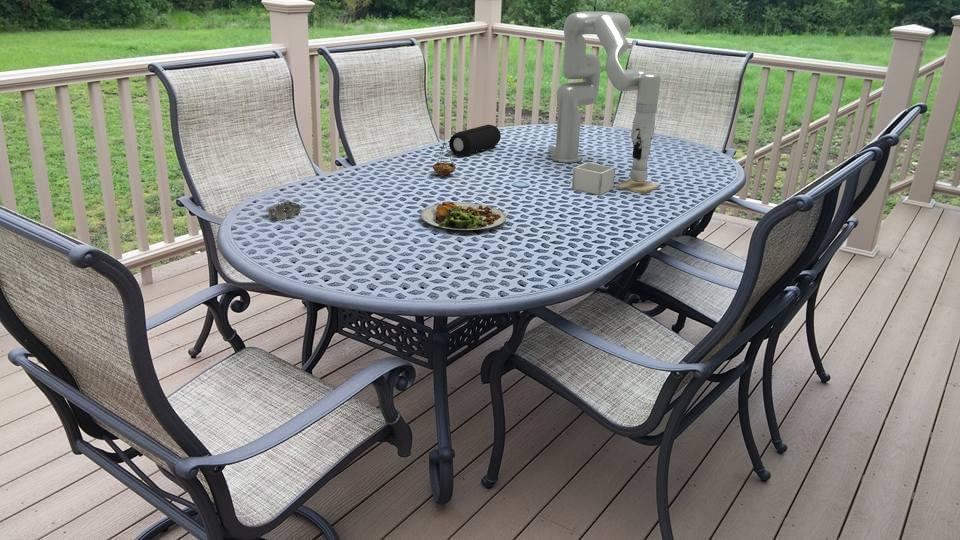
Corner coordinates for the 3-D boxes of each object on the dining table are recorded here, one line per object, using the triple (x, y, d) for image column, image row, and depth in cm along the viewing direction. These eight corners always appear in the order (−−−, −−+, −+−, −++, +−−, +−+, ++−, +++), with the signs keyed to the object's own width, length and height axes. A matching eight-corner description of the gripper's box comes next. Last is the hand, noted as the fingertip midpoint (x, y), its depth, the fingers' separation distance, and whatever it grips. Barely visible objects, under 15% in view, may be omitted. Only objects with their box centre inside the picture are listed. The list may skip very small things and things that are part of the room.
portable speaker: (484, 144, 353) (484, 121, 349) (502, 148, 347) (503, 125, 343) (447, 154, 334) (447, 131, 330) (465, 159, 328) (466, 135, 325)
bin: (571, 188, 294) (573, 167, 290) (585, 182, 302) (587, 162, 298) (599, 195, 287) (601, 173, 284) (613, 188, 295) (615, 167, 292)
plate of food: (464, 242, 239) (465, 223, 237) (402, 219, 256) (402, 201, 254) (523, 224, 259) (525, 206, 256) (462, 203, 276) (463, 187, 274)
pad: (615, 187, 296) (616, 185, 296) (630, 180, 305) (630, 178, 305) (645, 194, 290) (645, 191, 290) (659, 187, 299) (659, 184, 299)
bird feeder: (428, 176, 303) (429, 97, 291) (438, 170, 310) (439, 93, 299) (449, 179, 300) (451, 99, 288) (459, 173, 307) (460, 95, 296)
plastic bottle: (645, 179, 300) (652, 127, 292) (647, 184, 294) (654, 131, 286) (628, 178, 300) (634, 126, 293) (629, 183, 294) (636, 130, 286)
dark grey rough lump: (280, 223, 250) (279, 210, 249) (264, 218, 254) (263, 205, 253) (305, 214, 259) (304, 202, 257) (288, 209, 262) (288, 197, 261)
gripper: (647, 103, 295) (641, 150, 302) (626, 110, 282) (620, 159, 289) (666, 106, 291) (660, 154, 298) (645, 113, 278) (639, 163, 285)
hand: (640, 156), depth 293 cm, fingers closed on plastic bottle, 6 cm apart
